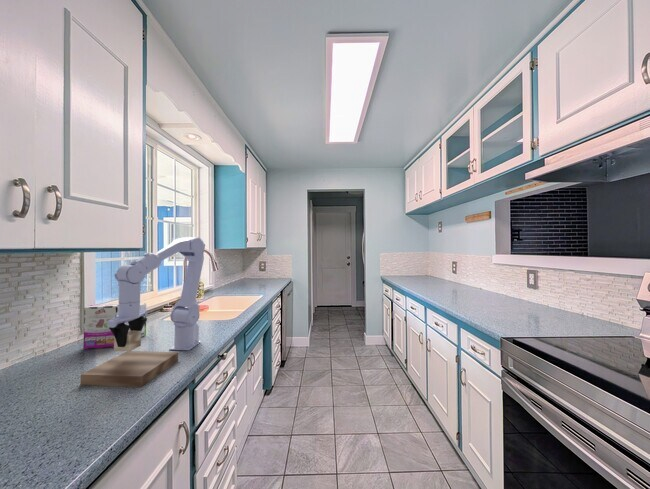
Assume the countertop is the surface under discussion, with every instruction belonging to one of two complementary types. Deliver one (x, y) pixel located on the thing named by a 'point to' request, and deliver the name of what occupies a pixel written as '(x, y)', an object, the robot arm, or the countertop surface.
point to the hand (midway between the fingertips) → (128, 343)
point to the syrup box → (143, 307)
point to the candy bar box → (99, 326)
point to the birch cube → (130, 341)
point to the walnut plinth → (130, 369)
